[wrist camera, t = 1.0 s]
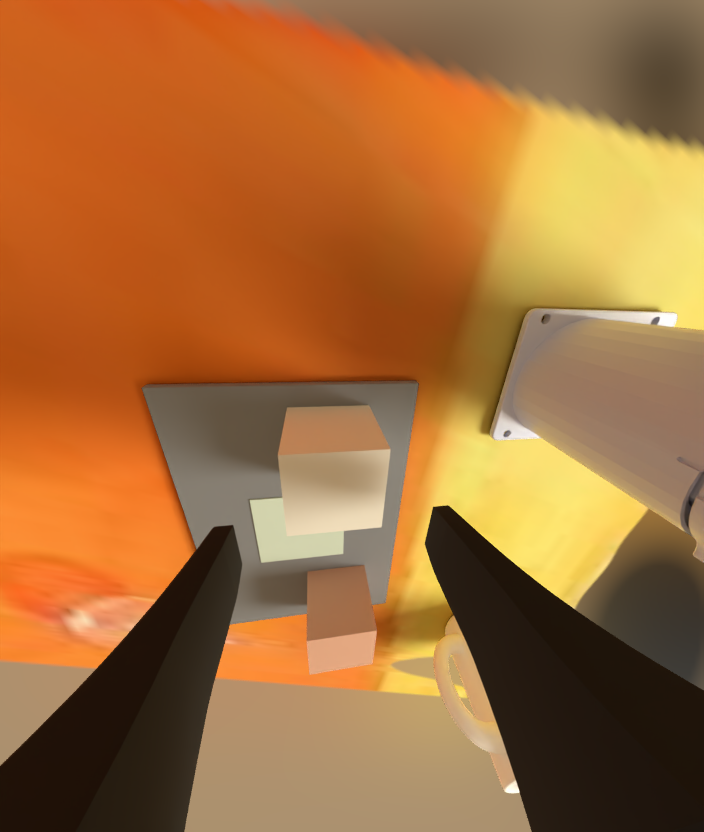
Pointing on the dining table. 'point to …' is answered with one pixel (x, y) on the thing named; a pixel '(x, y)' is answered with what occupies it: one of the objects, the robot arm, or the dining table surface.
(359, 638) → the terracotta block
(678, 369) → the robot arm
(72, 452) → the dining table surface
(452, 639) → the mug
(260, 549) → the mat
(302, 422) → the cream block
